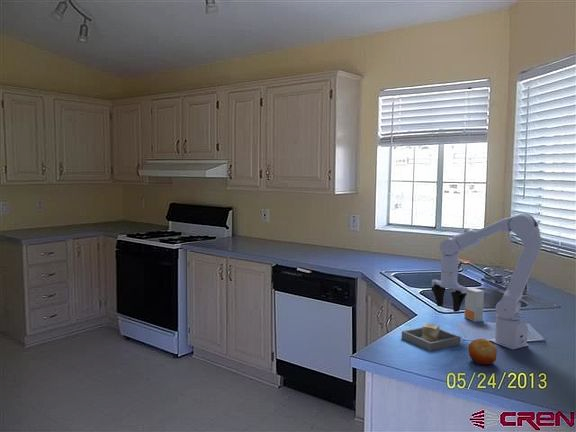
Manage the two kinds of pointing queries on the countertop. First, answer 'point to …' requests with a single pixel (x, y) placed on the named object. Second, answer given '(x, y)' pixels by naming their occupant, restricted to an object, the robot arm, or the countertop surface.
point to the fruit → (482, 352)
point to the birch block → (430, 332)
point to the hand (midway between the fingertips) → (447, 308)
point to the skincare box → (474, 304)
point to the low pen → (447, 342)
